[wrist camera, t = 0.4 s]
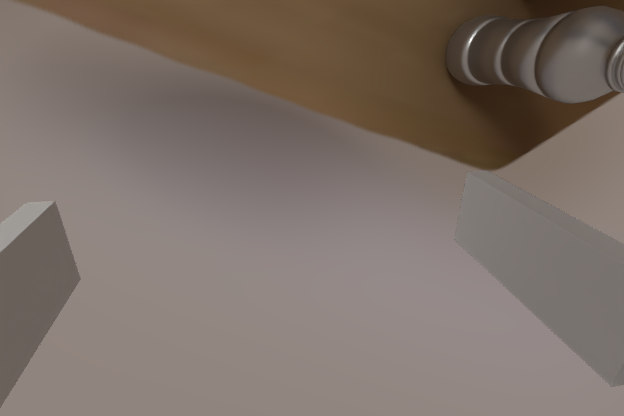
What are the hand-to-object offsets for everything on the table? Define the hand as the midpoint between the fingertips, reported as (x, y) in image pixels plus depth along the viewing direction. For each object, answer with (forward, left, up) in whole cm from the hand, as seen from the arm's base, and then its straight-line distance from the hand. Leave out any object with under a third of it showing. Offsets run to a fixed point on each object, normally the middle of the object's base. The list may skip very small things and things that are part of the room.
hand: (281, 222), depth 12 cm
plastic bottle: (-4, +23, -28) cm, 37 cm away
